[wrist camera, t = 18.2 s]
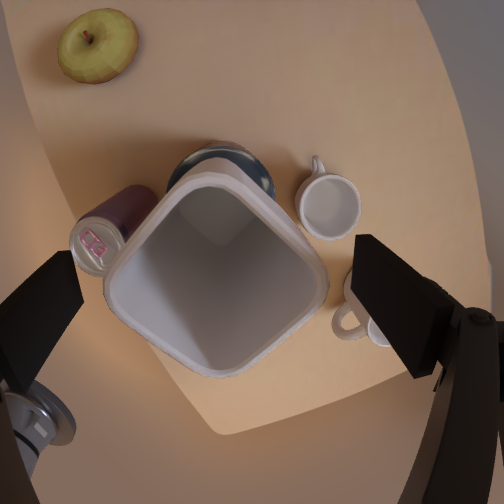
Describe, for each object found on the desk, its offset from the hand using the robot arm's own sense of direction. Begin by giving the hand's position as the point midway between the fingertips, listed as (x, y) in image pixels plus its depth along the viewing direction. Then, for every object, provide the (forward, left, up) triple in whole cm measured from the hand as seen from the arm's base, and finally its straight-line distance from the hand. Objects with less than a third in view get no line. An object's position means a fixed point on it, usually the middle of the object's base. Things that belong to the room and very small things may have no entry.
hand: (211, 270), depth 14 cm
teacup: (+12, -2, -27) cm, 30 cm away
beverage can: (-11, -3, -27) cm, 29 cm away
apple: (-14, +18, -27) cm, 35 cm away
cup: (0, 0, -13) cm, 13 cm away
